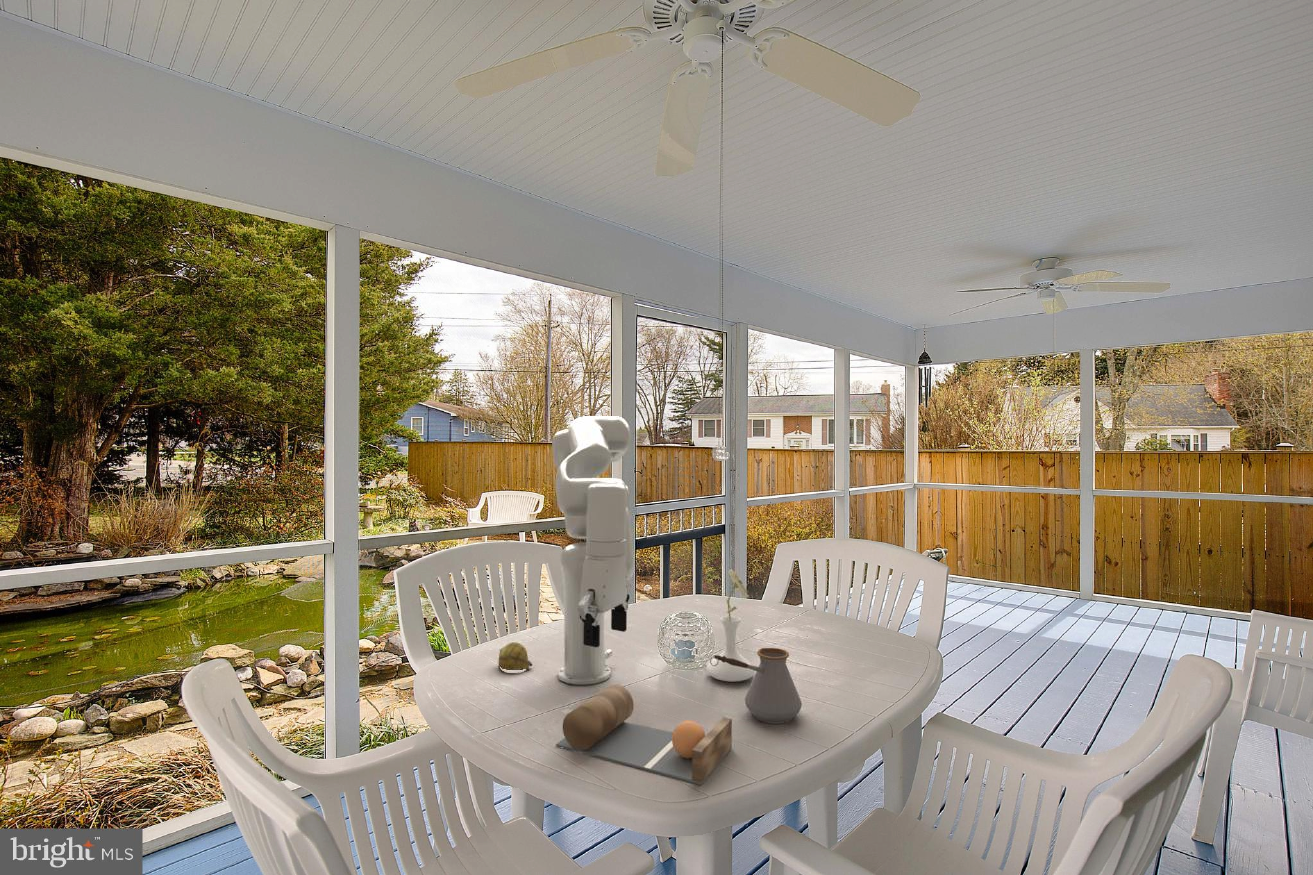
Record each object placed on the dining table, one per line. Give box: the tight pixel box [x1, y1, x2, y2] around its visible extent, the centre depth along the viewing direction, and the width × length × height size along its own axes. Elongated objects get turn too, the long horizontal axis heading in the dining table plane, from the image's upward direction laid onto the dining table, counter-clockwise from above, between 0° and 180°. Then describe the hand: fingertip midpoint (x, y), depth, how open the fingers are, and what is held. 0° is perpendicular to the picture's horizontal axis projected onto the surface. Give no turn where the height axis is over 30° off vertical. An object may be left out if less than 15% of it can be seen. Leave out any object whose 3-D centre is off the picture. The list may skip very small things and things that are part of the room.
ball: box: [672, 720, 706, 758], centre depth 114 cm, size 6×6×6 cm
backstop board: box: [692, 716, 733, 782], centre depth 112 cm, size 14×2×5 cm, turn 153°
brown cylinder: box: [562, 684, 634, 751], centre depth 123 cm, size 14×7×7 cm, turn 153°
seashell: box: [497, 642, 533, 670], centre depth 160 cm, size 10×7×8 cm
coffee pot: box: [709, 647, 803, 724], centre depth 130 cm, size 21×12×15 cm, turn 123°
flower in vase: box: [706, 568, 756, 683], centre depth 154 cm, size 13×11×25 cm
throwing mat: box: [555, 721, 733, 786], centre depth 119 cm, size 14×29×1 cm, turn 63°
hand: (605, 637), depth 123 cm, fingers open, 9 cm apart
